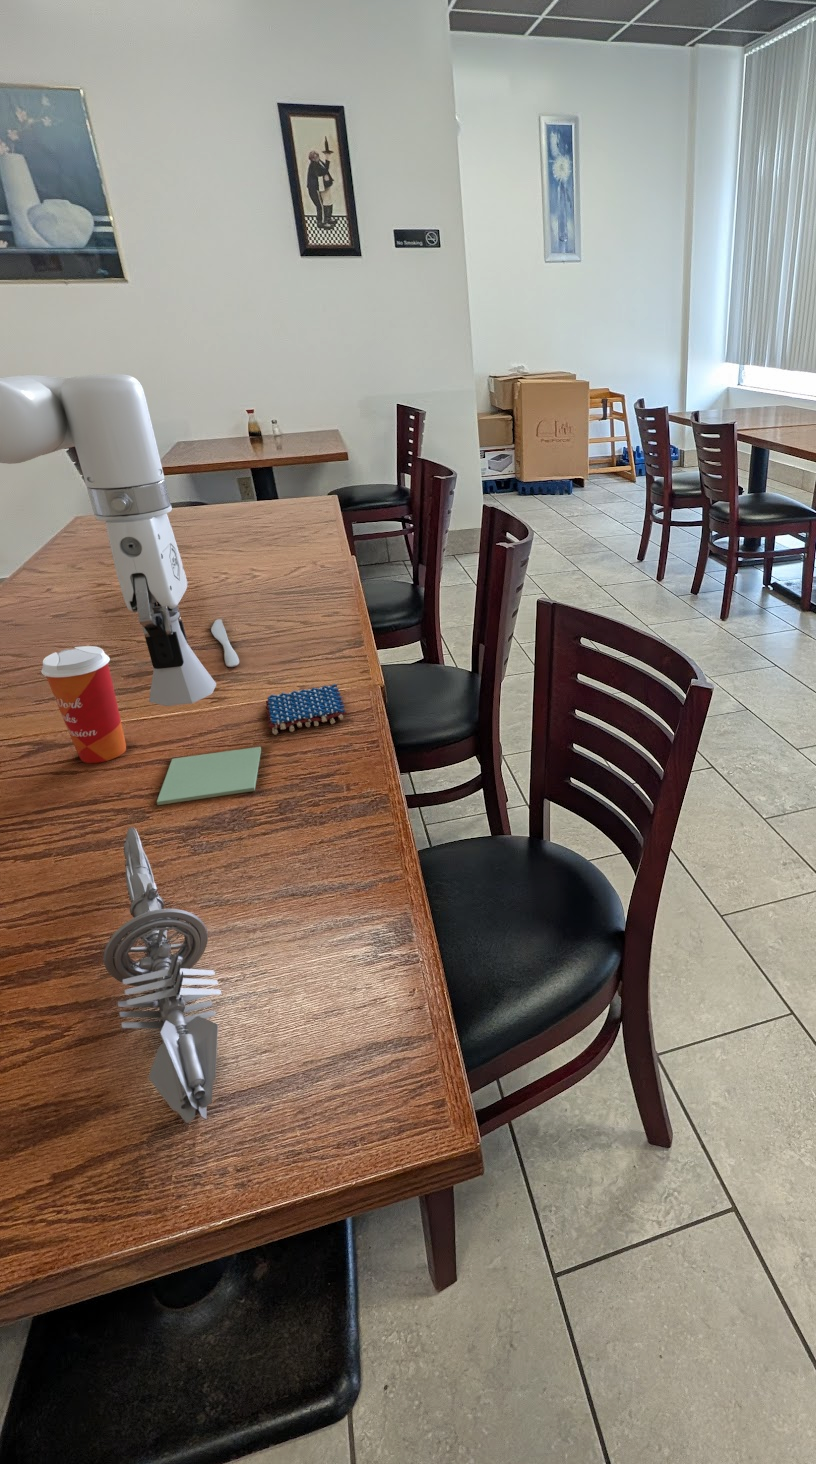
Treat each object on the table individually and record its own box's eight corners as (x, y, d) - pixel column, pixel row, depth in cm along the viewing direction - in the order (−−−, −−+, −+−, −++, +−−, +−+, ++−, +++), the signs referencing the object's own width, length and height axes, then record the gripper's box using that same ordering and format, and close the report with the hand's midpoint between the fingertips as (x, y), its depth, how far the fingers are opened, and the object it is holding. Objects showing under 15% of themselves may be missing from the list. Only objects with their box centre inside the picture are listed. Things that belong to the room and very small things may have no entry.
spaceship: (178, 797, 83) (89, 795, 78) (270, 1059, 57) (147, 1080, 53) (163, 863, 85) (75, 865, 80) (245, 1141, 60) (124, 1169, 55)
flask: (227, 683, 100) (209, 604, 95) (196, 709, 93) (175, 626, 89) (172, 682, 101) (152, 604, 96) (137, 707, 94) (114, 625, 90)
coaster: (157, 805, 97) (156, 801, 97) (173, 761, 106) (172, 758, 106) (254, 791, 99) (254, 787, 99) (261, 749, 109) (260, 746, 108)
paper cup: (63, 754, 109) (30, 656, 103) (123, 734, 114) (95, 640, 108) (82, 773, 104) (49, 672, 98) (144, 752, 109) (116, 654, 103)
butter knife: (221, 666, 134) (240, 662, 135) (208, 621, 156) (224, 617, 157) (222, 670, 134) (241, 665, 135) (209, 624, 156) (225, 620, 157)
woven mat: (265, 706, 121) (263, 694, 120) (338, 694, 124) (336, 681, 123) (269, 736, 112) (266, 723, 111) (348, 721, 115) (346, 709, 115)
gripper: (153, 512, 81) (196, 683, 89) (181, 484, 95) (215, 633, 103) (70, 519, 79) (121, 692, 87) (110, 489, 93) (151, 640, 101)
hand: (171, 658), depth 95 cm, fingers closed on flask, 3 cm apart
